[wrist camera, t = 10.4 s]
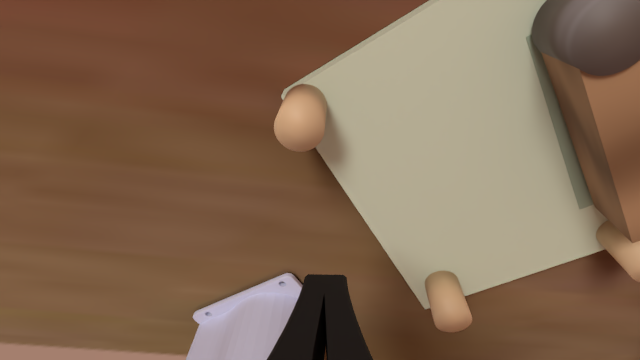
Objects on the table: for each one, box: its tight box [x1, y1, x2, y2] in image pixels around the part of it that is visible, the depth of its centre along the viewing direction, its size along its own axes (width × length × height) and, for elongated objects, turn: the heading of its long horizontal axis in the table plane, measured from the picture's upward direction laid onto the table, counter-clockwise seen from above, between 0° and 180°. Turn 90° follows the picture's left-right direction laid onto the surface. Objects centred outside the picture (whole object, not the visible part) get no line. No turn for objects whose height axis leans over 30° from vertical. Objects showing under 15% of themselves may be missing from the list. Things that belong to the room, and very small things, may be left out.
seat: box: [274, 0, 640, 332], centre depth 19 cm, size 14×18×4 cm
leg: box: [532, 0, 640, 243], centre depth 16 cm, size 12×3×3 cm, turn 33°
